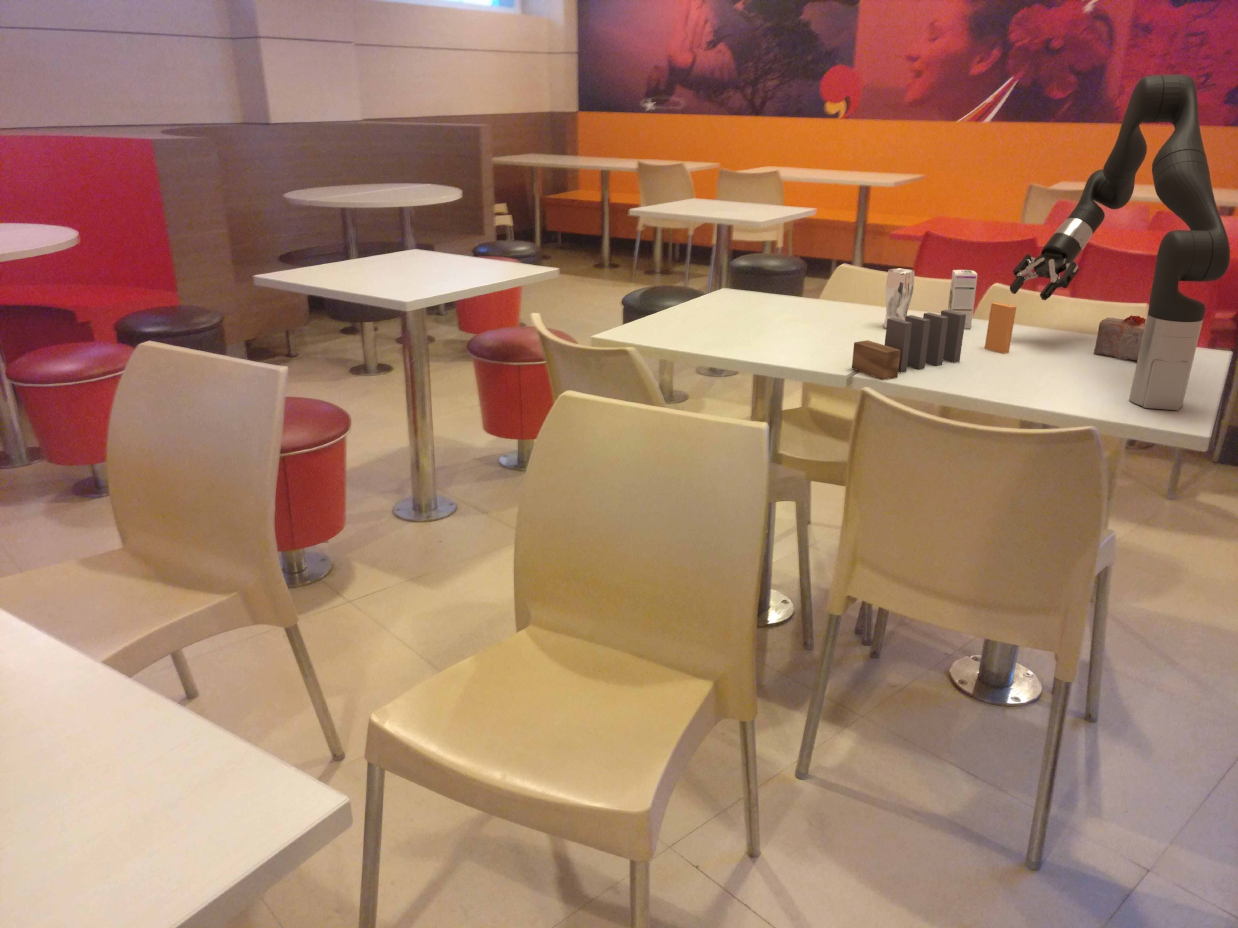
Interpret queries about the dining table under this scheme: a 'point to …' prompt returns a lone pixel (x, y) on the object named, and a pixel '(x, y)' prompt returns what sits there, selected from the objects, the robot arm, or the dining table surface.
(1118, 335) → the food item
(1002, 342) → the orange tile
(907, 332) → the domino
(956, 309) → the syrup box
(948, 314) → the domino
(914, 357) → the domino
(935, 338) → the domino
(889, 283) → the beer glass
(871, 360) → the block
